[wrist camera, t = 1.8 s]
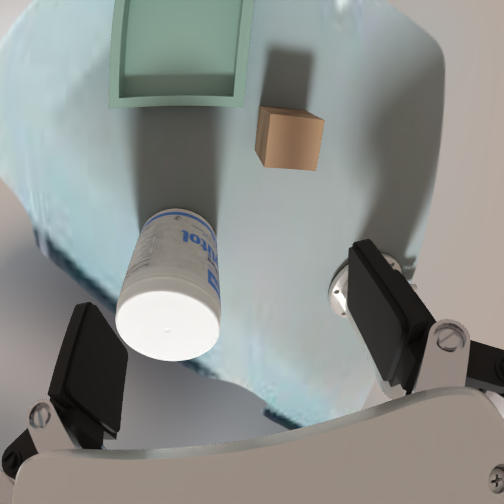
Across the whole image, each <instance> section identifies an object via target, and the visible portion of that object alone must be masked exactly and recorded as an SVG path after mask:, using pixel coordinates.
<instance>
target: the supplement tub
mask: <svg viewBox="0 0 504 504" xmlns="http://www.w3.org/2000/svg"><path fill="white" fill-rule="evenodd" d="M220 322H221V302H220V287H219V270H218V255H217V241H216V236H215V233H214V231H213V229H212V227H211V226H210V224H209V223H208V222H207V221H206V220H205V219H204V218H203V217H201V216H200V215H198V214H196V213H194V212H191V211H189V210H185V209H176V208H175V209H167V210H163V211H161V212H158V213H156V214H155V215H153V216H152V217H151V218H149V219H148V220H147V222H146V223H145V224H144V226H143V228H142V230H141V232H140V235H139V238H138V241H137V244H136V246H135V249H134V252H133V255H132V258H131V261H130V264H129V267H128V270H127V273H126V276H125V279H124V282H123V286H122V289H121V292H120V296H119V300H118V303H117V312H116V327H117V330H118V332H119V334H120V336H121V337H122V339H123V340H124V341H125V342H126V343H127V344H128V345H129V346H130V347H132V348H133V349H134V350H136V351H138V352H139V353H141V354H143V355H146V356H149V357H152V358H155V359H159V360H167V361H181V360H187V359H191V358H195V357H197V356H200V355H202V354H203V353H205V352H207V351H208V350H209V349H210V348H211V347H212V346H213V345H214V344H215V343H216V341H217V339H218V337H219V333H220Z"/></svg>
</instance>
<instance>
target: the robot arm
mask: <svg viewBox="0 0 504 504" xmlns="http://www.w3.org/2000/svg"><path fill="white" fill-rule="evenodd" d="M416 290H417V286H416V284H409V283H408V282H407V280H406V279H405V278H404V276H403V275H402V272H401V268H400V266H399V264H398V263H397V262H396V260H395V259H394V258H393V257H391V256H389V255H387V254H383V253H381V252H380V251H379V250H378V249H377V247H376V246H375V245H374V244H373V242H372V241H371V240H370V239H366V240H361V241H357V242H354V243H353V247H350V248H349V259H348V265H346V266H345V267H344V268H343V269H342V270H341V271H340V272H339V273H338V275H337V276H336V277H335V279H334V280H333V282H332V284H331V287H330V289H329V295H328V296H329V302H330V305H331V307H332V309H333V311H334V312H335V313H336V314H337V315H339V316H341V317H345V318H348V319H349V321H350V323H351V325H352V327H353V329H354V331H355V334H356V336H357V338H358V340H359V342H360V344H361V346H362V348H363V350H364V353H365V355H366V357H367V359H368V361H369V363H370V366H371V368H372V370H373V372H374V374H375V376H376V379H377V381H378V383H379V385H380V387H381V389H382V391H383V392H384V394H385V395H387V396H388V397H389V398H390V399H392V400H391V401H388V402H386V403H383V404H380V405H377V406H374V407H371V408H368V409H365V410H362V411H359V412H356V413H353V414H349V415H346V416H343V417H339V418H336V419H333V420H329V421H326V422H322V423H318V424H315V425H311V426H307V427H303V428H299V429H295V430H290V431H287V432H282V433H277V434H272V435H267V436H263V437H257V438H251V439H246V440H239V441H233V442H226V443H219V444H211V445H202V446H192V447H181V448H167V449H148V450H147V449H146V450H107V449H106V448H105V446H104V445H103V439H116V436H117V432H119V430H120V421H121V412H122V401H123V392H124V384H125V375H126V368H127V361H128V352H127V350H126V348H125V347H124V345H123V344H122V342H121V341H120V340H119V338H118V337H117V335H116V334H115V332H114V331H113V330H112V328H111V327H110V325H109V324H108V322H107V321H106V319H105V318H104V316H103V315H102V313H101V312H100V310H99V309H98V307H97V306H96V305H93V304H92V303H91V302H87V303H82V304H77V305H76V306H75V308H74V311H73V314H72V316H71V319H70V322H69V325H68V328H67V331H66V334H65V337H64V340H63V343H62V346H61V349H60V353H59V355H58V359H57V362H56V365H55V369H54V373H53V376H52V380H51V383H50V387H49V391H48V395H49V396H50V401H48V400H47V399H40V400H37V401H36V402H34V403H33V404H32V406H31V407H30V409H29V410H28V413H27V416H26V422H27V427H28V428H27V429H26V430H25V431H24V432H23V433H22V434H21V435H20V436H19V437H18V438H17V439H16V440H15V441H14V442H13V443H12V444H11V445H10V446H9V447H7V449H6V450H5V452H4V454H3V456H2V467H3V471H2V470H1V469H0V504H504V350H502V349H499V348H495V347H491V346H488V345H485V344H482V343H478V342H475V341H472V340H470V335H469V333H468V331H467V329H466V328H465V327H464V326H463V325H462V324H461V323H459V322H457V321H454V320H449V319H444V320H440V321H438V322H436V321H435V319H434V318H433V316H432V315H431V313H430V312H429V310H428V309H427V308H426V306H425V305H424V303H423V302H422V301H421V299H420V298H419V297H418V295H417V294H416Z"/></svg>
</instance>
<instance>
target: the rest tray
mask: <svg viewBox="0 0 504 504" xmlns="http://www.w3.org/2000/svg"><path fill="white" fill-rule="evenodd" d="M253 6H254V0H115V4H114V13H113V23H112V34H111V49H110V71H109V109H117V108H130V107H149V106H224V107H243V104H244V93H245V83H246V72H247V62H248V53H249V43H250V33H251V24H252V15H253Z"/></svg>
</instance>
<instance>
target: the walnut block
mask: <svg viewBox="0 0 504 504" xmlns="http://www.w3.org/2000/svg"><path fill="white" fill-rule="evenodd" d="M324 121H325V120H323V119H321V118H319V117H317V116H315V115H313V114H311V113H309V112H307V111H304V110H296V109H287V108H278V107H267V106H259V115H258V124H257V134H256V144H255V151H256V153H257V155H258V157H259V158H260V160H261V162H262V164H263V166H264V167H269V168H285V169H299V170H312V171H316V168H317V163H318V157H319V151H320V145H321V139H322V133H323V127H324Z"/></svg>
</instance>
